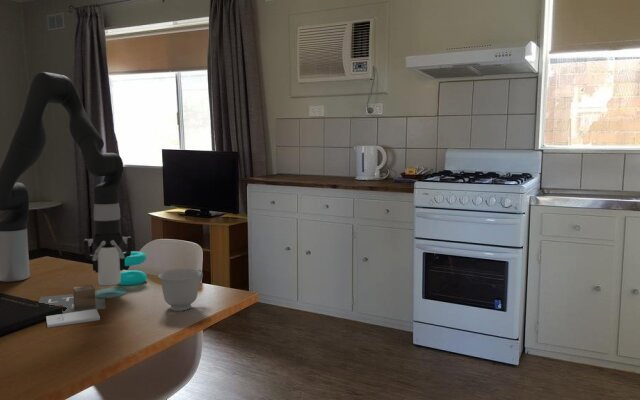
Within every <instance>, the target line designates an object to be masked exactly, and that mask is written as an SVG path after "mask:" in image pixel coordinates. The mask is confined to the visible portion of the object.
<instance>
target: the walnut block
mask: <svg viewBox="0 0 640 400" xmlns="http://www.w3.org/2000/svg"><path fill="white" fill-rule="evenodd" d="M72 291H73V293H72V294H73V296H74V305H75V307H76V309H78V308H85V307H91V306H96V305H95V299H96V297H95V291H96V289H95V287H94V286H93V285H92V284H89V285H81V286H74V287H72Z"/></svg>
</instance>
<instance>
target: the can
mask: <svg viewBox="0 0 640 400" xmlns="http://www.w3.org/2000/svg"><path fill="white" fill-rule="evenodd" d="M100 248H101V249H100V250H99V254H98V258H97V261H98V273H97V282H98V285H99V286H101V287H112V286H113V287H114V286H116V285H117V286H118V285H120V284H119V283H120V282H121V273H122V272H121V271H120V256H119V253H118V249H116V246H115V247H100Z"/></svg>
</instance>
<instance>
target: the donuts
mask: <svg viewBox="0 0 640 400" xmlns="http://www.w3.org/2000/svg"><path fill="white" fill-rule="evenodd" d="M122 252H123V251H122ZM125 252H126V251H124V252H123V253H125ZM146 260H147V254H146V253H144V252H143V251H135V250H134V251H132V250H131V255H130V256H128V257H126V258H125V267H129V266H130V267H132V266H137V265H141V264H143V263H145V261H146ZM120 273H121V282H120V283H119V284H118V285H121V286H135V285H140V284H143V283H146V281H147V279H148V276H147V274H146V273H145V272H144V271H142V270H135V269H134V270H132V269H131V270H126V271H122V272H120Z"/></svg>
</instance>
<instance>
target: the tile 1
mask: <svg viewBox="0 0 640 400" xmlns="http://www.w3.org/2000/svg"><path fill="white" fill-rule="evenodd" d="M69 301H74V296H73V293H72V294H71V293H69V294H59V295H50V296H49V295H48V296H40V297H39V300H38V302H39V303H45V304H49V305H55V306H54V307H58V306H64V302H69Z"/></svg>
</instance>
